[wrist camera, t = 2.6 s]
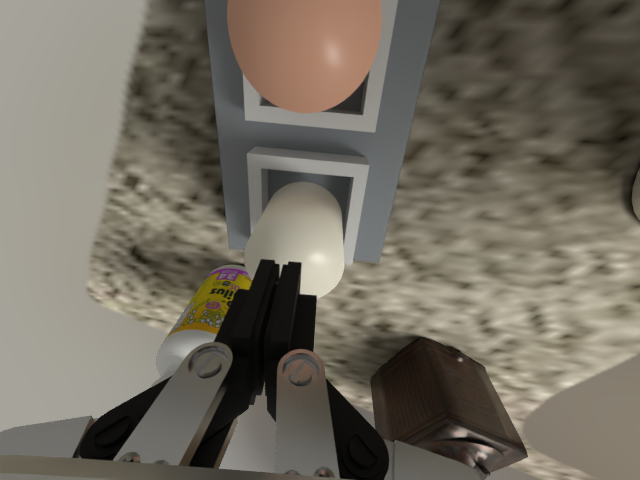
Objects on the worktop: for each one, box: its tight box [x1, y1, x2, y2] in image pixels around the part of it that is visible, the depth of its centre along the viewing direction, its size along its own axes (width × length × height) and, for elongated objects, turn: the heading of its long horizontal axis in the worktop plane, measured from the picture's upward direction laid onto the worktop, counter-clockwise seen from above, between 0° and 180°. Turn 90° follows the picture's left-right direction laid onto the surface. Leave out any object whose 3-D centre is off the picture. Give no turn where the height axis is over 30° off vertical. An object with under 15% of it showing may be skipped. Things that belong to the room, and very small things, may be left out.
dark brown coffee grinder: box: [370, 338, 528, 480], centre depth 26 cm, size 16×11×18 cm
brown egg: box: [227, 0, 382, 113], centre depth 11 cm, size 5×5×5 cm
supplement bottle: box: [152, 265, 253, 387], centre depth 24 cm, size 7×7×13 cm
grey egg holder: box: [204, 0, 440, 265], centre depth 18 cm, size 12×18×6 cm, turn 175°
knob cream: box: [244, 182, 344, 298], centre depth 15 cm, size 5×5×5 cm
